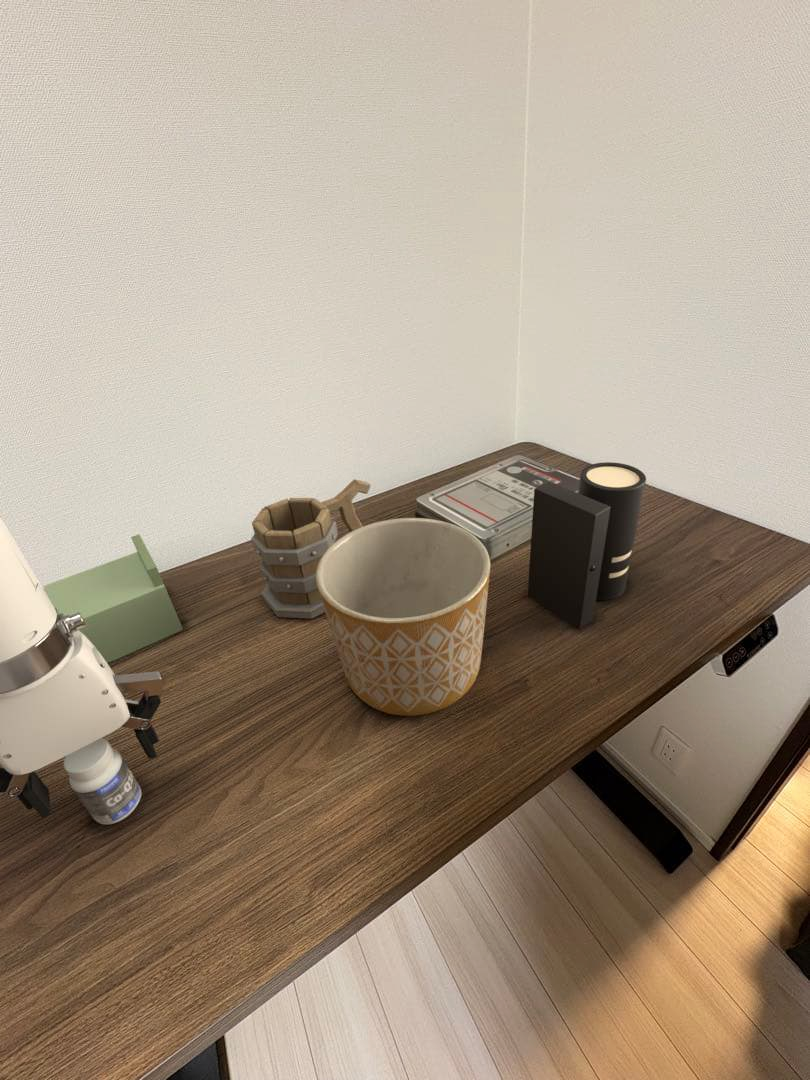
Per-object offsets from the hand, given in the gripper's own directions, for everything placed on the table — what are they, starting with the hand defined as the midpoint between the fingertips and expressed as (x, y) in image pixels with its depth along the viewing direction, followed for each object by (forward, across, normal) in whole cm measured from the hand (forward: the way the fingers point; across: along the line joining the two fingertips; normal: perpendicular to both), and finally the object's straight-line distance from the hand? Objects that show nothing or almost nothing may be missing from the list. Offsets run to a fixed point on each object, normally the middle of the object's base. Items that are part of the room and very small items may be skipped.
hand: (100, 775), depth 52 cm
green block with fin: (+5, -6, -29) cm, 30 cm away
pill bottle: (+5, 0, 0) cm, 5 cm away
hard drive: (+5, -70, -16) cm, 72 cm away
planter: (+5, -35, +4) cm, 36 cm away
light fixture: (+6, -63, +8) cm, 64 cm away
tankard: (+5, -35, -19) cm, 40 cm away
